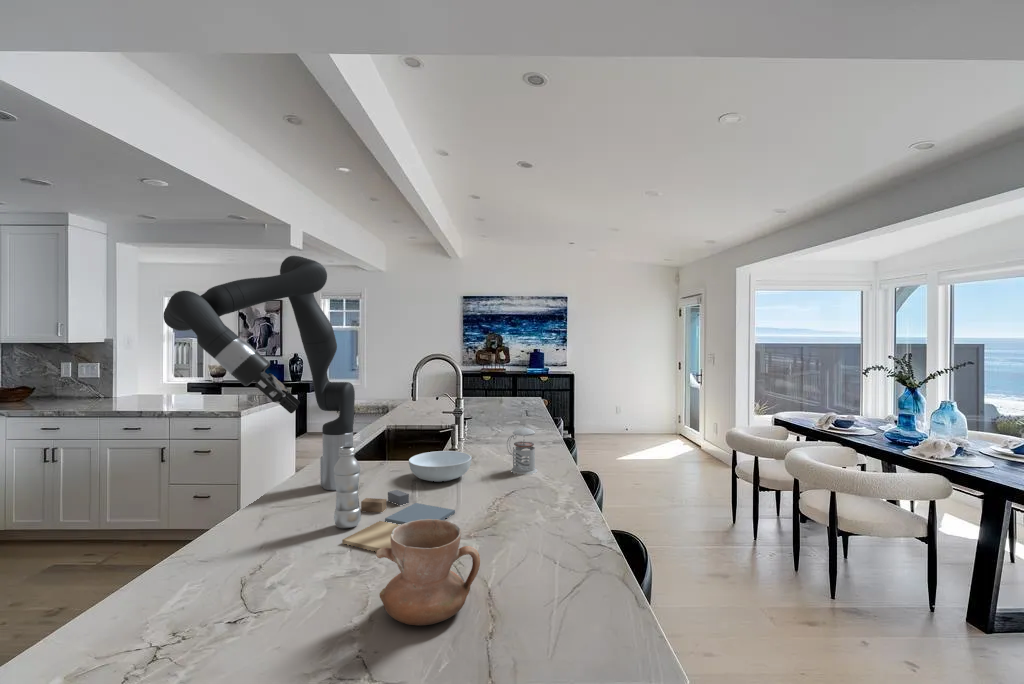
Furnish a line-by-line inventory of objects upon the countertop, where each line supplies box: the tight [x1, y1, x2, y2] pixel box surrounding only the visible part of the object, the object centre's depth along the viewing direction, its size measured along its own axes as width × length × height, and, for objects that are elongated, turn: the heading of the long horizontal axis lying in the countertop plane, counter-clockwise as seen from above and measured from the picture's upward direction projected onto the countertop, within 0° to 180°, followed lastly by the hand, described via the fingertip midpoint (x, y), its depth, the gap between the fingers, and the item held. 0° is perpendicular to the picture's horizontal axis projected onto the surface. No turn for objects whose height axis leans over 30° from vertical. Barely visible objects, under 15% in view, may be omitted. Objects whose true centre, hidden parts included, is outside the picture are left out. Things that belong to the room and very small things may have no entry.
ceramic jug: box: [375, 519, 481, 626], centre depth 89 cm, size 18×14×14 cm
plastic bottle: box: [333, 445, 362, 529], centre depth 127 cm, size 6×7×20 cm
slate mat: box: [384, 502, 456, 524], centre depth 133 cm, size 13×13×1 cm
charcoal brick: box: [387, 489, 410, 506], centre depth 145 cm, size 6×3×3 cm, turn 47°
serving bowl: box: [408, 450, 472, 483], centre depth 170 cm, size 21×21×7 cm
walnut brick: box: [360, 497, 387, 513], centre depth 139 cm, size 6×3×3 cm, turn 81°
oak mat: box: [341, 520, 399, 553], centre depth 120 cm, size 13×13×1 cm
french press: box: [506, 400, 538, 475], centre depth 179 cm, size 10×12×25 cm
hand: (296, 408), depth 122 cm, fingers open, 8 cm apart
